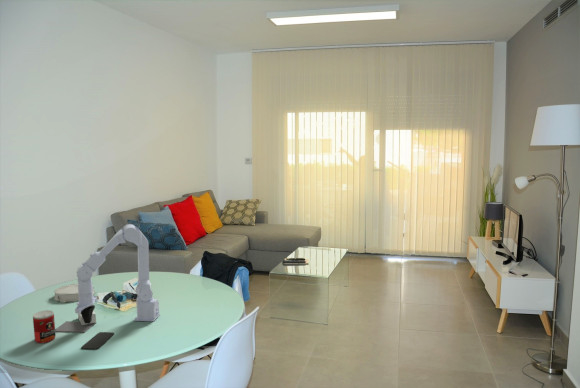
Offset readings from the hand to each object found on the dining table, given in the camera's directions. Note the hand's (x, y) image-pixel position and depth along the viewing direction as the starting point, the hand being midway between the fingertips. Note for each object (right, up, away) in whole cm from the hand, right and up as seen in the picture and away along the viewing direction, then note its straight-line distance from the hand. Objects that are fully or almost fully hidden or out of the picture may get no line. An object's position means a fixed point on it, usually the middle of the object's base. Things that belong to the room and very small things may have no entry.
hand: (87, 322), depth 198 cm
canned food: (-13, -4, -11) cm, 17 cm away
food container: (-25, +2, +40) cm, 47 cm away
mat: (-6, -2, +1) cm, 6 cm away
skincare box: (0, +1, +2) cm, 2 cm away
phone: (+10, -4, -12) cm, 17 cm away
